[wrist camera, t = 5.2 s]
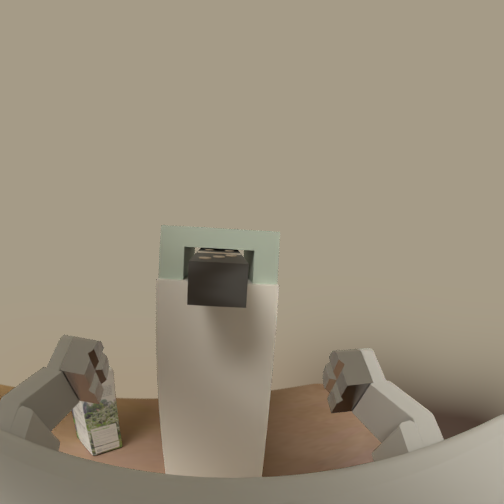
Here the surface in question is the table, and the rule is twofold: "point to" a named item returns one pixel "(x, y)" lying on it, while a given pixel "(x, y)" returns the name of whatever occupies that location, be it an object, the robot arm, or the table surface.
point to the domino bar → (217, 278)
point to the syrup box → (99, 421)
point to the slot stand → (215, 357)
